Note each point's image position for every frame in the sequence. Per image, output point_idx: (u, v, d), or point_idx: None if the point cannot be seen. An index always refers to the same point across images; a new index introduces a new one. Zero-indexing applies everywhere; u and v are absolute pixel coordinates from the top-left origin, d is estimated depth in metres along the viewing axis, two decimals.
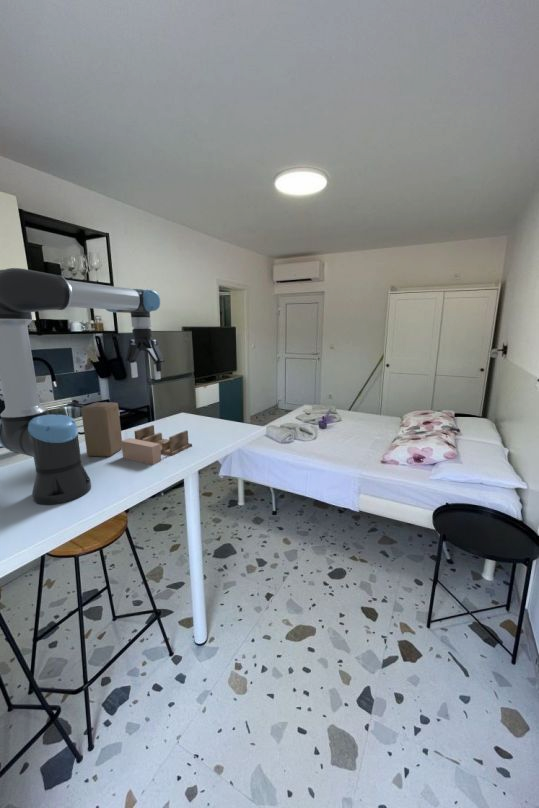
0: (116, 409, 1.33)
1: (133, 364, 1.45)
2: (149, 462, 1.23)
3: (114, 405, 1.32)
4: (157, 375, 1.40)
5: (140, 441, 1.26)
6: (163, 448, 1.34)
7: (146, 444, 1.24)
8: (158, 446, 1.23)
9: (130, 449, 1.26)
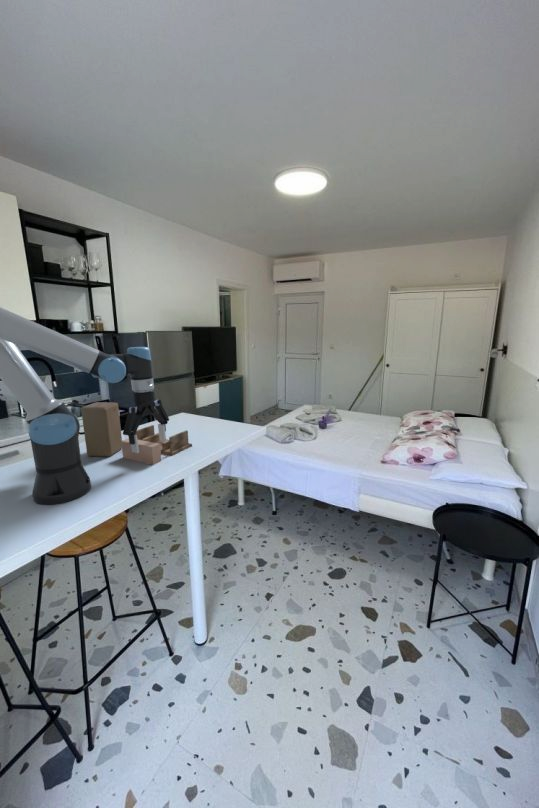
0: (116, 409, 1.33)
1: (159, 426, 1.29)
2: (149, 462, 1.23)
3: (114, 405, 1.32)
4: (133, 447, 1.18)
5: (140, 441, 1.26)
6: (163, 448, 1.34)
7: (146, 444, 1.24)
8: (158, 446, 1.23)
9: (131, 449, 1.26)
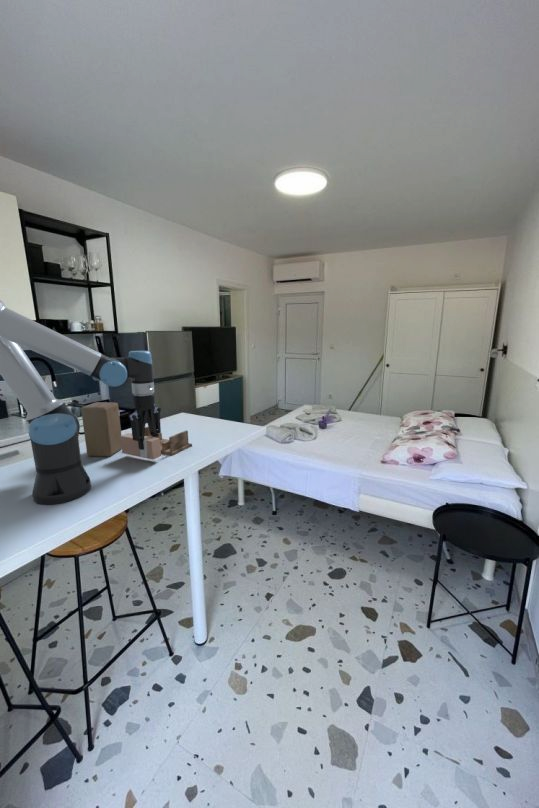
0: (116, 409, 1.33)
1: None
2: (149, 457, 1.22)
3: (114, 405, 1.32)
4: (142, 453, 1.22)
5: None
6: (163, 448, 1.34)
7: (146, 438, 1.23)
8: (158, 441, 1.23)
9: (130, 444, 1.25)
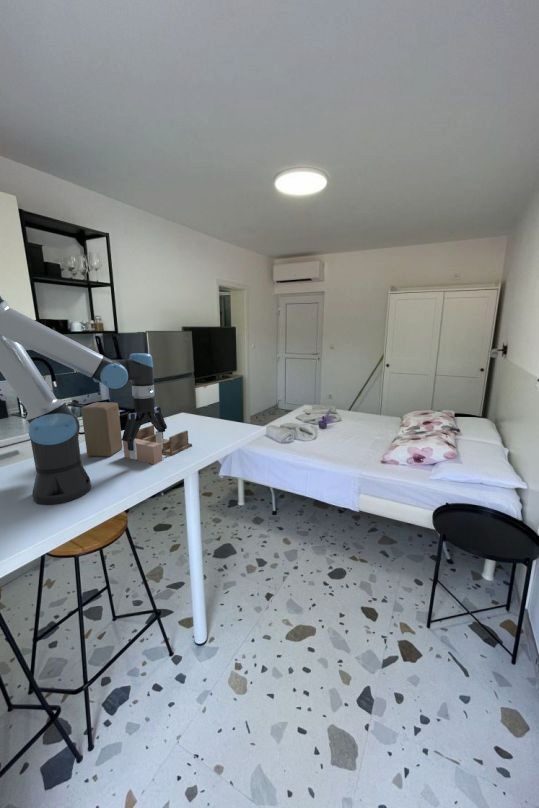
0: (116, 409, 1.33)
1: (157, 433, 1.29)
2: (150, 462, 1.23)
3: (114, 405, 1.32)
4: (131, 454, 1.18)
5: (141, 441, 1.27)
6: (163, 448, 1.34)
7: (147, 443, 1.24)
8: (159, 446, 1.24)
9: None
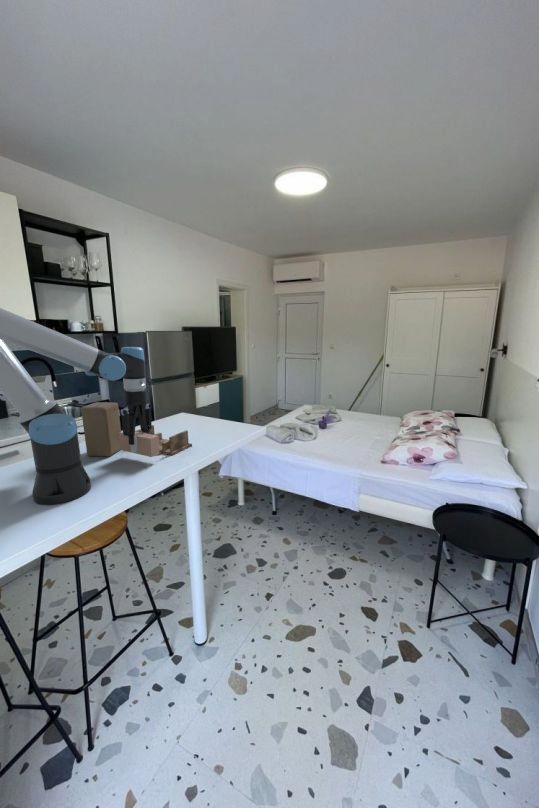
0: (116, 409, 1.33)
1: None
2: (147, 454, 1.22)
3: (114, 405, 1.32)
4: (132, 448, 1.24)
5: (138, 433, 1.25)
6: (163, 448, 1.34)
7: (144, 435, 1.23)
8: (156, 438, 1.22)
9: (128, 440, 1.25)
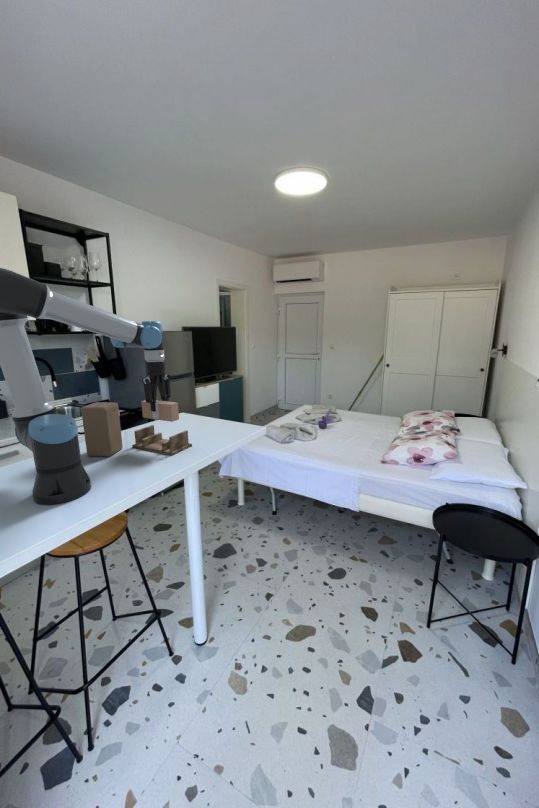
0: (116, 409, 1.33)
1: None
2: (168, 419, 1.33)
3: (114, 405, 1.32)
4: (154, 414, 1.35)
5: (159, 401, 1.37)
6: (163, 448, 1.34)
7: (165, 403, 1.34)
8: (176, 405, 1.34)
9: (150, 408, 1.36)
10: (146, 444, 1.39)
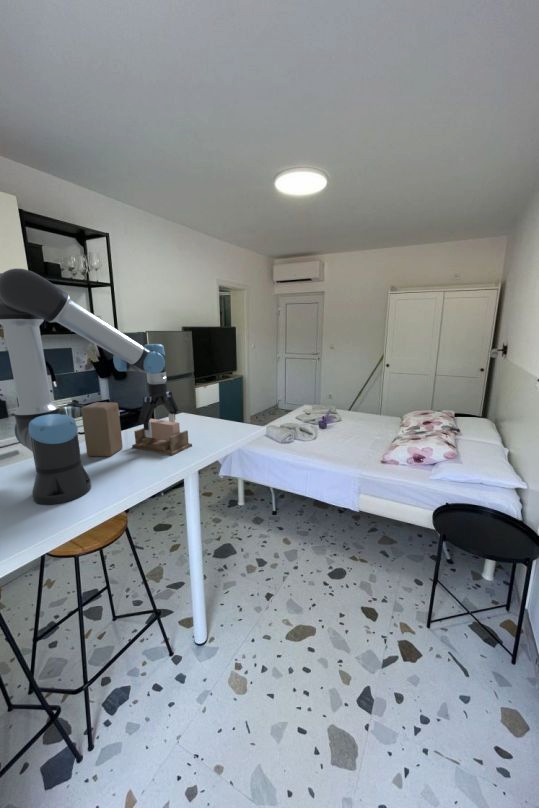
0: (116, 409, 1.33)
1: (170, 415, 1.44)
2: None
3: (114, 405, 1.32)
4: (147, 433, 1.33)
5: (161, 421, 1.39)
6: (163, 448, 1.34)
7: (167, 423, 1.36)
8: (177, 425, 1.36)
9: (152, 427, 1.38)
10: (146, 444, 1.39)
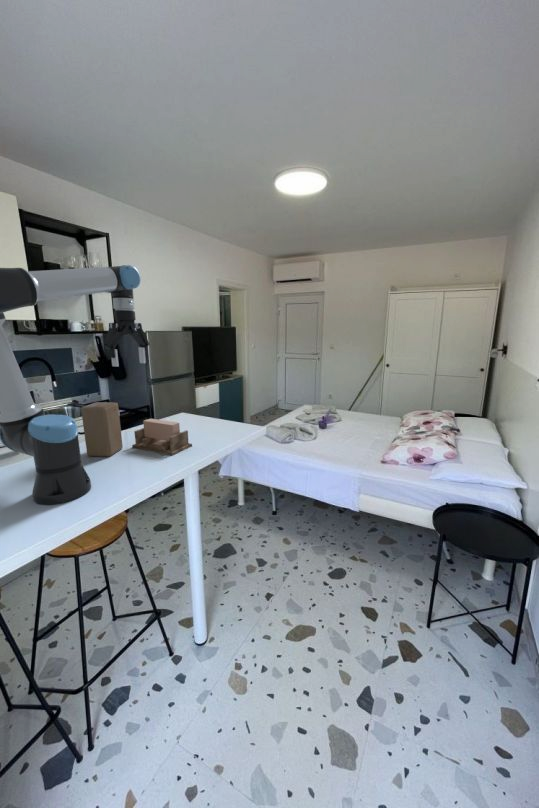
0: (116, 409, 1.33)
1: (140, 349, 1.39)
2: None
3: (114, 405, 1.32)
4: (113, 362, 1.28)
5: (161, 421, 1.39)
6: (163, 448, 1.34)
7: (167, 423, 1.36)
8: (177, 425, 1.36)
9: (152, 427, 1.38)
10: (146, 444, 1.39)
